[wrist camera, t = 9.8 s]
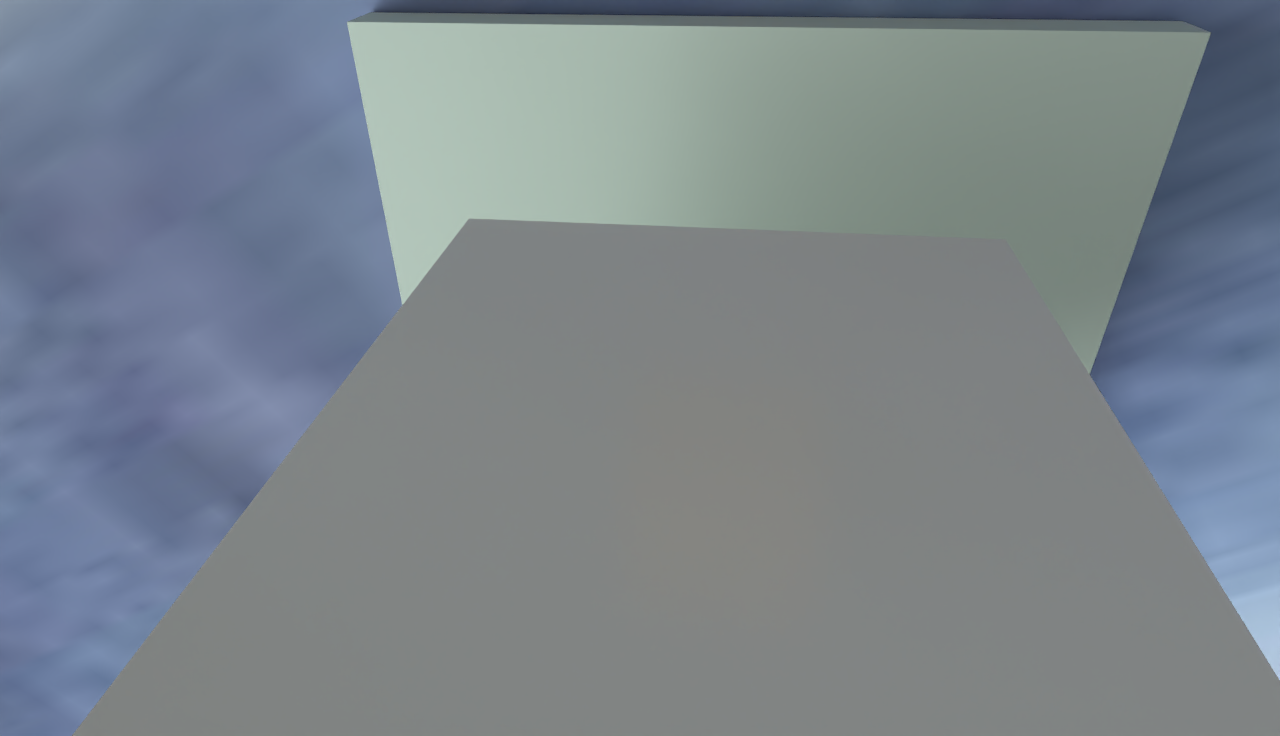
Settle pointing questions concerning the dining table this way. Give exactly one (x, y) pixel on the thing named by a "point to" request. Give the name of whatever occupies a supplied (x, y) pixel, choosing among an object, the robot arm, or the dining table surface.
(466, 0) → the dining table surface
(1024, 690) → the cream block
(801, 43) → the sage board
